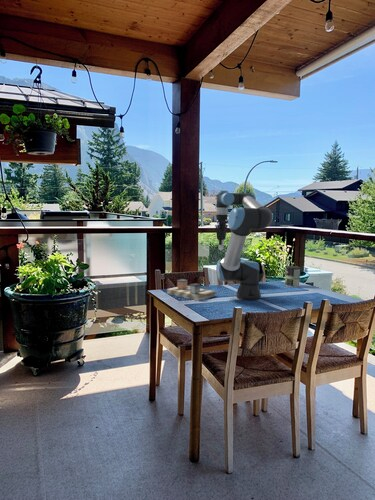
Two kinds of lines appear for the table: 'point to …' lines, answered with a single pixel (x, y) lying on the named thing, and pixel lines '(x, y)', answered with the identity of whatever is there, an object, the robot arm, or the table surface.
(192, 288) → the fader grey
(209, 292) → the tan muffin tray
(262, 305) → the table surface
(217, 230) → the robot arm
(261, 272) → the dark grey cylinder
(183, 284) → the fader terracotta
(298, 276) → the coffee can
